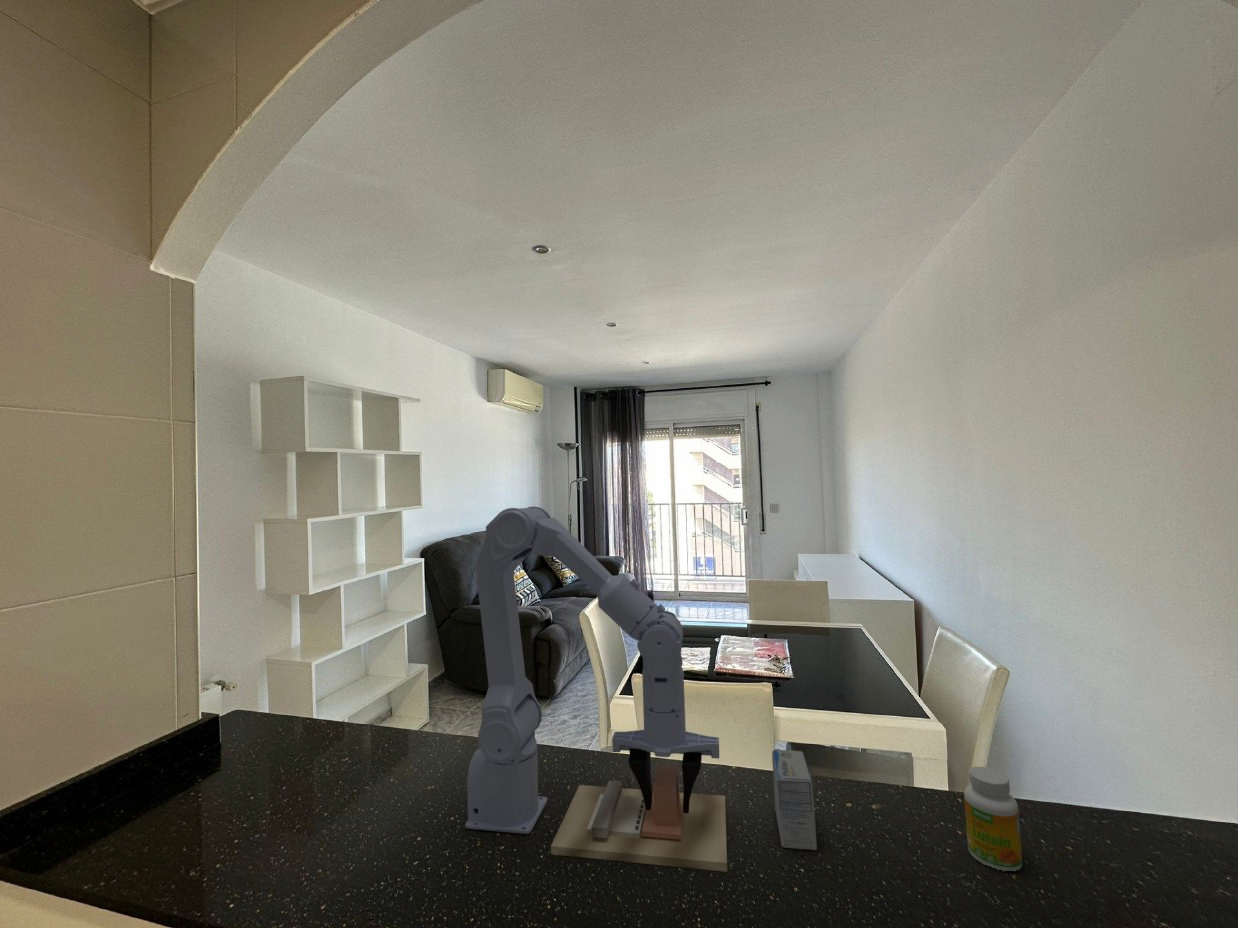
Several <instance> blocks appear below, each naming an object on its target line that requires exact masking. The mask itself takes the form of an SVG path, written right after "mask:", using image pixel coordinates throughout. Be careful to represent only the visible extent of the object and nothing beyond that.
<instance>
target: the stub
mask: <svg viewBox="0 0 1238 928" xmlns="http://www.w3.org/2000/svg"><path fill="white" fill-rule="evenodd" d="M652 787H653V788H652V790H653V791H654V796H652V806H651V810H646V814H645V819H644V823H643V828H642V836H646V837H657V838H668V839H679V840H681V832H682V822H683V798H680V793H681V792H680V790H681V789H680V766H675V765H674V766H673V765H660V764H657V765H656V771H655V775H654V780H653V785H652Z"/></svg>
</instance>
